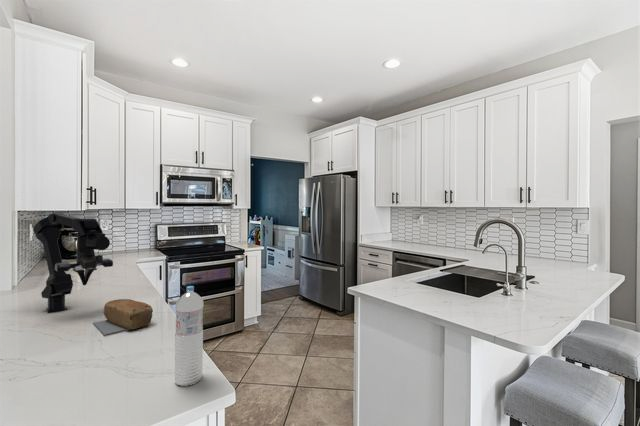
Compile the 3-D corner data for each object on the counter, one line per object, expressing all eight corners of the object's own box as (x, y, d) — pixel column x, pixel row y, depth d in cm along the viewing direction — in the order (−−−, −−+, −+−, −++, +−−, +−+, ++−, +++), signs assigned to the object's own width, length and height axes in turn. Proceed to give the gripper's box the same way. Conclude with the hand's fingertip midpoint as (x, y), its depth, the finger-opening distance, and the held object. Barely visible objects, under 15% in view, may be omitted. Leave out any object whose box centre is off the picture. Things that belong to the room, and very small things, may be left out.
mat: (93, 324, 117) (93, 322, 117) (133, 315, 128) (133, 314, 128) (104, 336, 107) (104, 334, 107) (147, 325, 117) (147, 324, 117)
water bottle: (180, 373, 84) (181, 283, 84) (205, 372, 84) (207, 283, 84) (170, 387, 77) (171, 290, 77) (197, 387, 78) (199, 290, 77)
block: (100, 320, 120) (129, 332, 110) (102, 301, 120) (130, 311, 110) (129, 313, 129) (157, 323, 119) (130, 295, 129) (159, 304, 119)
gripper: (60, 252, 115) (59, 293, 115) (117, 248, 129) (116, 285, 129) (54, 249, 122) (53, 287, 122) (109, 245, 136) (108, 280, 136)
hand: (84, 285), depth 127 cm, fingers closed
